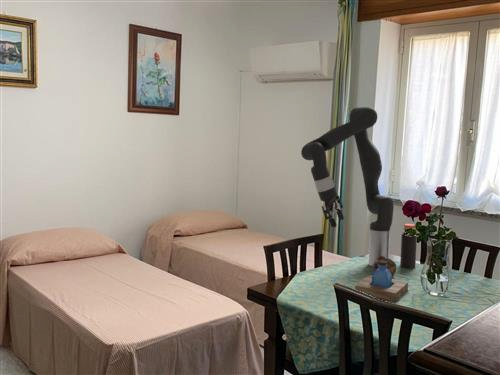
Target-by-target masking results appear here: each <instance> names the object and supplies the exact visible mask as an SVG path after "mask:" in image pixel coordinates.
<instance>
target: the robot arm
mask: <svg viewBox="0 0 500 375" xmlns="http://www.w3.org/2000/svg"><path fill="white" fill-rule="evenodd" d="M377 120H378V113H377V110H376V109H374V108H373V107H369V106H362V107H358V106H357V107H354V108H352V110H351V111H350V112H349V121H348V122H345V123H344V124H341V125H339V126H338V125H337V126H336V127H333V128H332V129H329V130H328V131H327V132H325V133H323V134H322V135H321V136H319V137H318V138H315V139H313V140H311V141H310V142H307V143H306V144H305V145H303V146H302V148H301V152H300V153H301V154H300V155H301V156H302V158H303V159H304V160H306V161H312V163H313V165H312V167H311V168H310V172H311V175H312V178H313V180H314V186H315V188H316V191H317V194H318V197H319V200H320V201H321V202H324V205H322V206H321V209H322V212H323V216H324V218H325V220H327V221H329V224H330V227H331V228H336V227H337V226H338V225H337V222H336V219H335V214H337V217H338V221H343V220H344V219H345V217H344V215H343V208H344V206H343V203H342V200H341V198H340V195H339V194H338V191H337V189H336V186H335V184H334V183H335V182H334V181H333V178H332V176H331V174H330V171H329V169H328V163H327V154H326V153H327V151H331V150H332V149H334V148H335V147H336V146H338V145H340V144H341V143H343V142H344V141H346V140H348V139H349V138H351V137H352V136H353V137H354V139H355V145H356V149H357V153H358V156H359V157H358V158H359V163H360V164H359V165H360V168H361V172H362V176H363V183H364V190H365V198H366V199H365V200H366V206H367V210H368V211H369V213H371V214H374V215H377V216H376V217H377V218H376V220H375V221H373V222H370V223H369V240H368V242H369V243H368V244H369V245H368V265H369V266H370V267H372V268H374V263H375V262H376V261H377V258H378V257H379V256H384V257H385V258H388V259H390V241H391V240H390V239H391V238H390V237H391V228H392V225H393V218H394V216H393V215H394V207H395V206H394V202H393V199H392V198H391V197H390V196H387V195H381V193H380V189H379V180H380V177H381V174H382V170H383V163H382V159H381V158H382V157H381V155H380V152H379V150H378V148H377V147H376V145H375V144H374V142H372V140H371V138H370V136H369V134H368V129H370V128H372V127H373V126H375V125H376V123H377Z"/></svg>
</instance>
